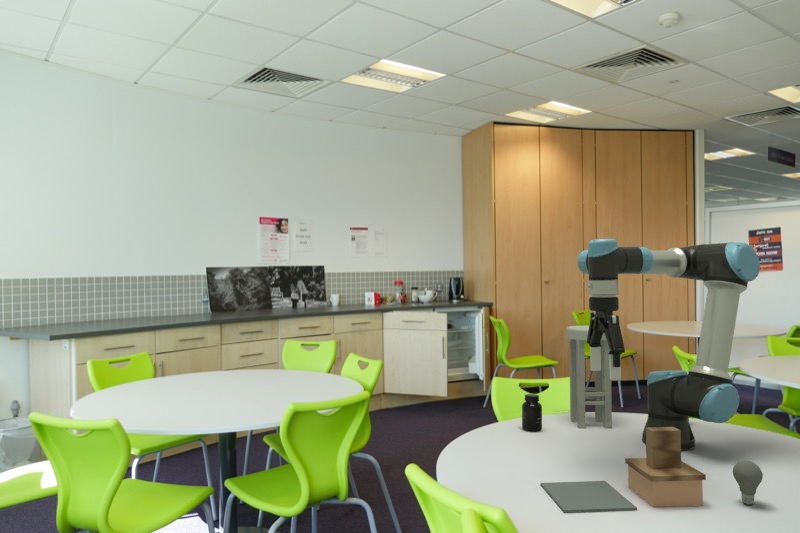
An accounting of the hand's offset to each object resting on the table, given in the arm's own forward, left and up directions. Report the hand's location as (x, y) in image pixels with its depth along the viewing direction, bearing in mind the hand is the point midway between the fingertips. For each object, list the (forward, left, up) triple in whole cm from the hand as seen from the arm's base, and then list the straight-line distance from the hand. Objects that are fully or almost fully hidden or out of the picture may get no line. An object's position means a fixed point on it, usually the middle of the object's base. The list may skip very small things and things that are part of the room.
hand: (605, 374), depth 152 cm
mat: (+12, +15, -27) cm, 33 cm away
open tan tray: (-7, +16, -27) cm, 32 cm away
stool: (-16, -50, -27) cm, 59 cm away
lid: (-7, +16, -21) cm, 27 cm away
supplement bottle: (+7, -45, -27) cm, 53 cm away
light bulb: (-24, +22, -27) cm, 42 cm away
